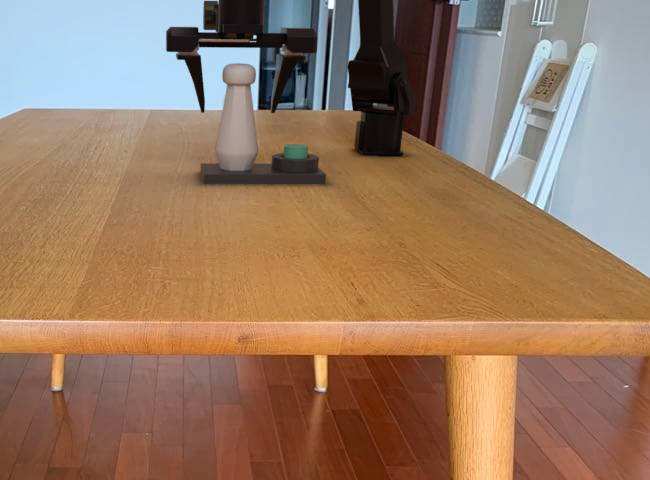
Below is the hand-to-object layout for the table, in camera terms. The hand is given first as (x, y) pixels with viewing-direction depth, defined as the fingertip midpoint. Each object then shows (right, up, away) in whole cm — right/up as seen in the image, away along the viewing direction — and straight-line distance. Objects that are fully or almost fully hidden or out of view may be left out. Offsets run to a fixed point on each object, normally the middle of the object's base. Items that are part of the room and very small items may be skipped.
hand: (237, 112), depth 106 cm
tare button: (+8, -5, +3) cm, 10 cm away
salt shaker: (0, -7, +3) cm, 7 cm away
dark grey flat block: (+3, -8, +4) cm, 9 cm away
